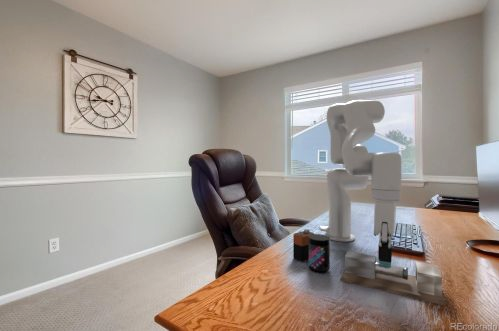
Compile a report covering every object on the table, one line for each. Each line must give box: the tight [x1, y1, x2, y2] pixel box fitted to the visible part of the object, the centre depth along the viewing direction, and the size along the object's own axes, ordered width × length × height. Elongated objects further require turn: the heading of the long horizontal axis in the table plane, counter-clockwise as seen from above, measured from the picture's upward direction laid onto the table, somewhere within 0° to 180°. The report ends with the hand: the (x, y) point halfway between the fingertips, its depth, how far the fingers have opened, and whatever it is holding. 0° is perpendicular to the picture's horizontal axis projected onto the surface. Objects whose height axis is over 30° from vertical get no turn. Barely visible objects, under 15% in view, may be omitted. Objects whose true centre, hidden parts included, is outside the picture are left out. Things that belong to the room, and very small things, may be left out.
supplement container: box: [307, 233, 331, 274], centre depth 78 cm, size 7×7×10 cm
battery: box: [292, 228, 315, 263], centre depth 87 cm, size 4×7×10 cm, turn 127°
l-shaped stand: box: [375, 239, 409, 280], centre depth 72 cm, size 16×3×10 cm, turn 59°
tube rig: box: [340, 250, 447, 306], centre depth 70 cm, size 24×12×6 cm, turn 59°
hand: (385, 258), depth 70 cm, fingers closed on l-shaped stand, 3 cm apart
